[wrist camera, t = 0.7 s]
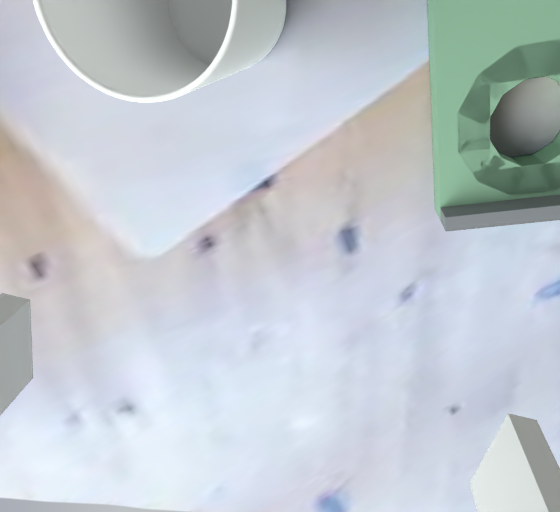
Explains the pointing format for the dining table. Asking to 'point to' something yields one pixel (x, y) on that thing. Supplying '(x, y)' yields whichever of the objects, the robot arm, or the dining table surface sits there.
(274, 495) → the dining table surface
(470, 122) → the green
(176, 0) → the cup
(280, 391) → the dining table surface
